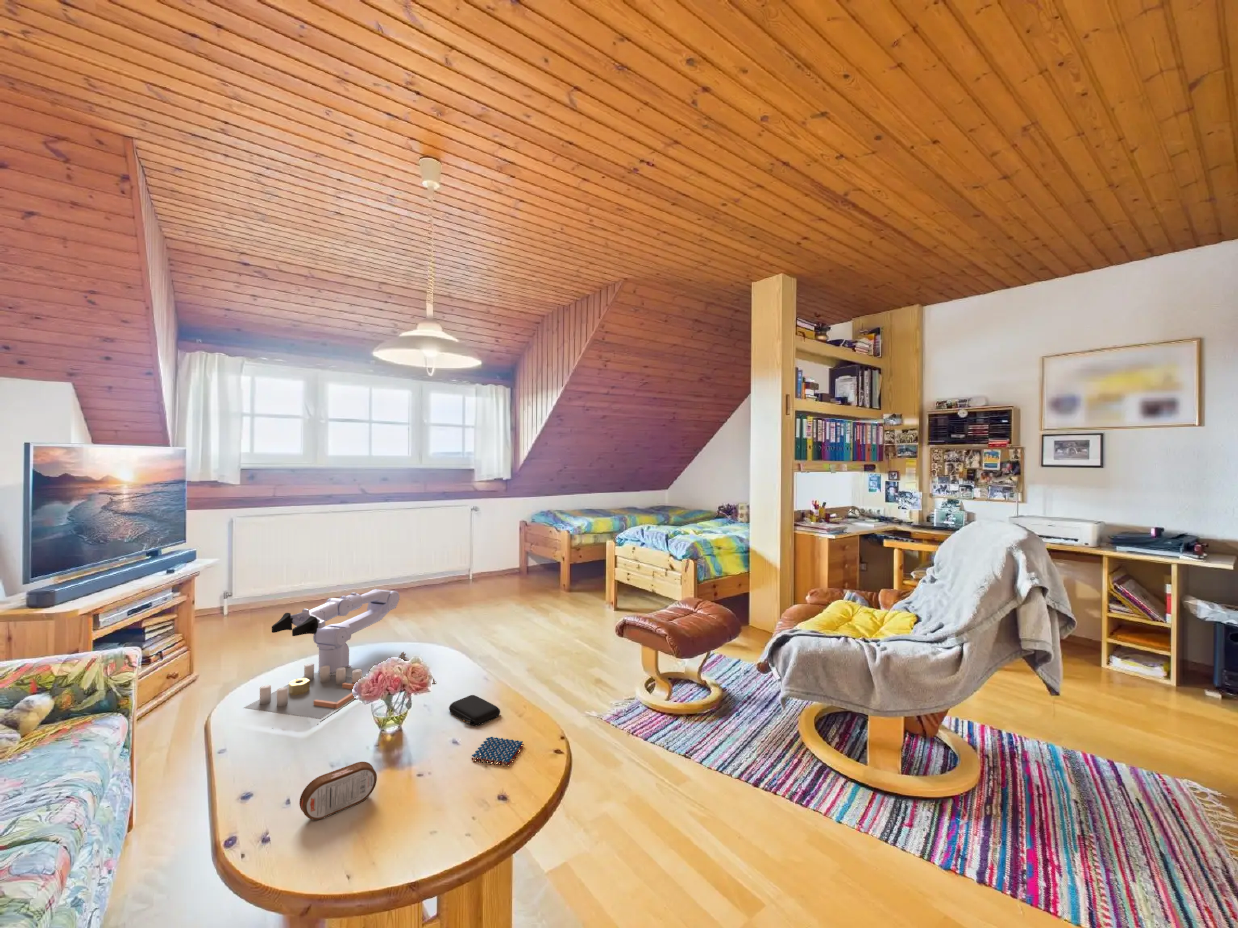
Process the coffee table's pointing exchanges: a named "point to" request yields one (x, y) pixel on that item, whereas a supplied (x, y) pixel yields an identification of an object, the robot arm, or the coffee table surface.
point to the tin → (338, 790)
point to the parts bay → (340, 702)
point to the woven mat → (498, 750)
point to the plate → (308, 693)
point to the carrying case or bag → (474, 710)
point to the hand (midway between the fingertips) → (282, 631)
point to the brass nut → (299, 686)
